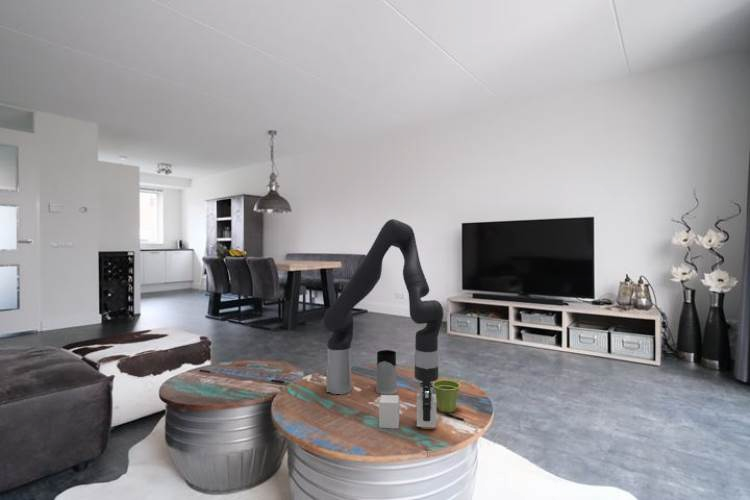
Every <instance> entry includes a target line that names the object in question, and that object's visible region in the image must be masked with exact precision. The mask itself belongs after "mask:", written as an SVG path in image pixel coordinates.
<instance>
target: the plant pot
mask: <svg viewBox="0 0 750 500" xmlns="http://www.w3.org/2000/svg"><path fill="white" fill-rule="evenodd" d="M432 383H433V390H434V392H435V394H436V407H437V410H439V411H441V412H442V413H444V412H446V413H453V412H455V411H456V409H457V400H458V393H459V390H460V388H461V384H460V383H458V382H457V381H454V380H450V379H438V380H436V381H433V382H432Z"/></svg>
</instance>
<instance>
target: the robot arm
mask: <svg viewBox="0 0 750 500" xmlns="http://www.w3.org/2000/svg"><path fill="white" fill-rule="evenodd" d="M391 247H395V248H396V249H397V248H398V249H399V250H400V252H401V254H402V257H403V261H404V262H403V268H402V275H403V276H402V277H403V280H404V284H405V287H406V290H407V293H408V302H409V303H408V304H409V306H408V307H409V316H410V319H411V320H412V321H413V322H414V323H415V324H417V325H420V324H426V325H425V327H424V328H422V329H420V330H418V331H416V333H415V340H414V341H415V345H414V346H415V350H414V351H415V352H414V378H415V379H416V381H419V383H420V384H419V385H420V386H419V387H420V388H419V389H420V394H421V400H422V401H423V406H422V408H423V421H430V410H431V401H432V394H433V391H434V387H433V383H434V382H435V381H438V380H439V351H438V350H439V349H438V348H439V347H438V343H439V342H438V341H439V339H438V338H439V332H440V331H441V326H442V323H443V319H444V307H443V306H442V303H441V302H440V301H439V300H435V299H434V300H433V299H431V300H430V299H429V300H422V298H425V297H426V296H428V294H429V293H430V287H429V284H428V282H427V278H426V276H425V273H424V270H423V268H422V265H421V261H420V255H419V251H418V245H417V240H416V235H415V233H414V230H413V227H412V226H410V225H409V224H407V223H405V222H402V221H400V220H397V219H393V218H392V219H389V220H387V221H386V222H385V223H384V224H383V226H382V227H381V229H380V230H379V232H378V234H377V236H376V238H375V240H374V242H373V243H372V245H371V247H370V249H369V251H368V252H367V253H366V255H365V257H364V259H363V260H362V262H360V264H359V266H358V267H357V269H356V270H355V271H354V273H353V274H352V276H351V277H350V280H349V281H348V282H347V284H346V285H345V287H344V289H343V290H342V291H341V292H340V295H338V296H337V298H336V300H334V302H333V303H332V304H331V305H330V306H329V308H328V309H327V310H326V312H325V313H324V315H323V320H322V321H323V322H322V323H323V326H324V329H326V331H328V332H331V333H332V334H331V337H330V338H329V339H328V340H327V367H326V370H325V372H326V373H325V374H326V375H325V376H326V382H325V383H326V385H325V386H326V390H325V391H326V393H327V392H330V393H329V394H331V393H332V394H331V395H336V394H340V395H346V394H348V393H350V392H351V391H352V346H351V345H352V342H353V341H352V340H353V338H354V316H353V312H352V310H353V309H354V308H355V306H357V305H358V304H359V303H361V301H363V300H364V299H365V298H366V297H367V296H368V295H369V294H370V293H371V292H372V291H373V289H374V288H375V286H376V285H377V284H378V282H379V281H380V279H381V276H382V270H383V269H382V268H383V260H384V257H385V255H386V253H387V252H388V251H389V249H391ZM424 403H429V405H424Z"/></svg>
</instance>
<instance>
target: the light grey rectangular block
mask: <svg viewBox="0 0 750 500" xmlns="http://www.w3.org/2000/svg"><path fill="white" fill-rule="evenodd" d="M424 405H429V403H424ZM422 406H423V401H422V400H421V393H416V427H417V428H418V427H420V428H421V427H434V429H435V428H437V399H436V393H434V394H433V393H432V401H431V410H430V421H423V408H422Z"/></svg>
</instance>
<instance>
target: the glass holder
mask: <svg viewBox="0 0 750 500" xmlns="http://www.w3.org/2000/svg"><path fill="white" fill-rule="evenodd" d="M376 360H377V361H376V388H375V392H376V393H378V394H380V395H394V394H395V393H397V392H398V388H397V378H398V377H397V352H396V351H394V350H390V349H382V350H378V351H377V352H376Z"/></svg>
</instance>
